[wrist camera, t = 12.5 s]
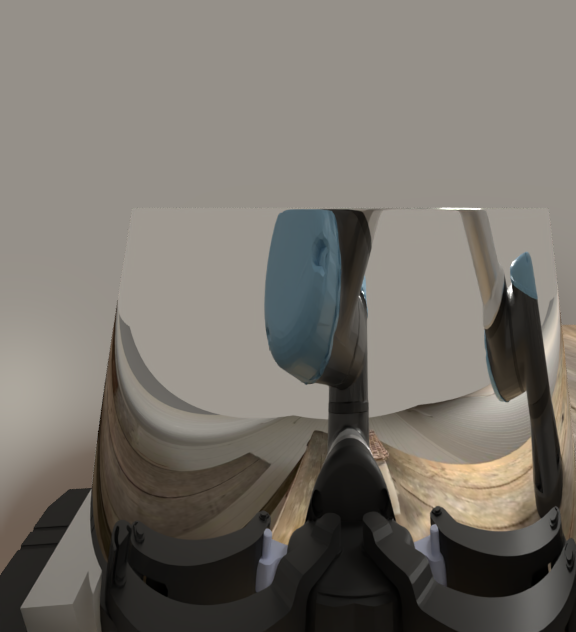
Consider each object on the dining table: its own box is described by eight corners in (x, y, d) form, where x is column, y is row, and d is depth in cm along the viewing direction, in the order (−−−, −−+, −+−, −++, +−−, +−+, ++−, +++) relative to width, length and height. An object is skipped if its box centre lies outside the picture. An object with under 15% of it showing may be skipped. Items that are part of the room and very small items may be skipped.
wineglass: (195, 670, 14) (143, 207, 9) (391, 652, 15) (446, 208, 10) (119, 1215, 7) (-503, 207, 1) (533, 1131, 7) (1174, 208, 2)
